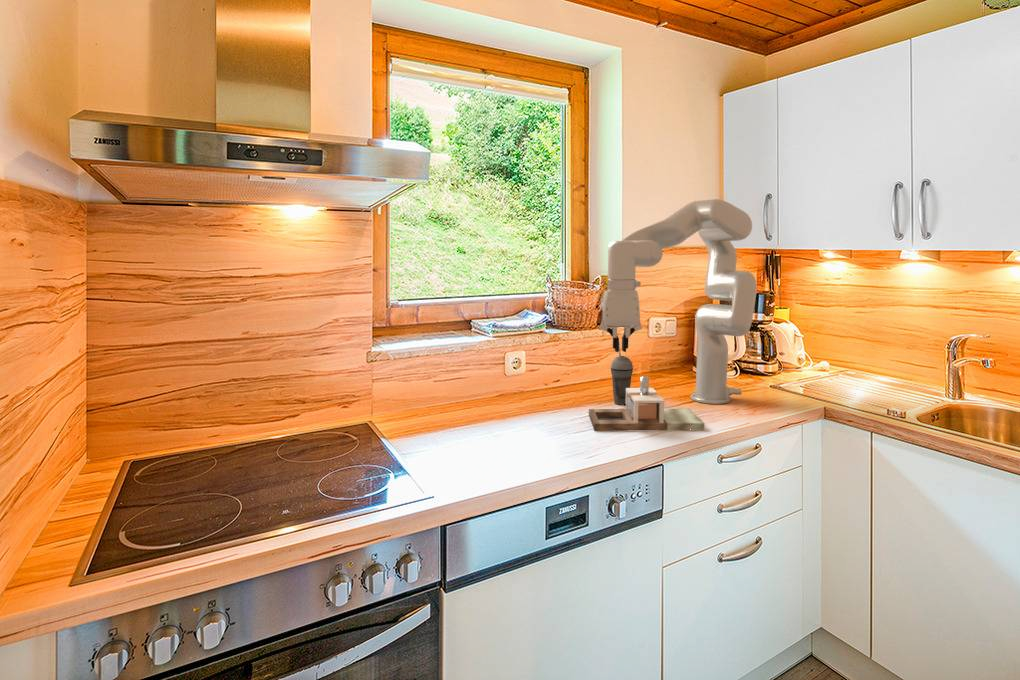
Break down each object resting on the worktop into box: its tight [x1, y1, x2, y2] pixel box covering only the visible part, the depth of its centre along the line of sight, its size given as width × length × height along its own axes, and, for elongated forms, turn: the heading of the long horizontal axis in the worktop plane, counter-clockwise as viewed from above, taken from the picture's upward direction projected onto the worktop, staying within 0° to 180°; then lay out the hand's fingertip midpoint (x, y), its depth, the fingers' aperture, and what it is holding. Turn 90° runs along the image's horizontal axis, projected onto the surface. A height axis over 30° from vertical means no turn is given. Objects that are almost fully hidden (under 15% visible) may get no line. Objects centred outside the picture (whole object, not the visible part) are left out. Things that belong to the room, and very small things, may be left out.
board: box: [588, 408, 705, 432], centre depth 160 cm, size 30×14×2 cm, turn 88°
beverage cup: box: [610, 343, 634, 406], centre depth 180 cm, size 7×7×20 cm
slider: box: [627, 375, 660, 419], centre depth 159 cm, size 8×7×11 cm
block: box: [633, 401, 657, 419], centre depth 160 cm, size 6×6×4 cm
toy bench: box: [625, 387, 665, 423], centre depth 160 cm, size 8×14×6 cm, turn 178°
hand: (620, 350), depth 158 cm, fingers closed
